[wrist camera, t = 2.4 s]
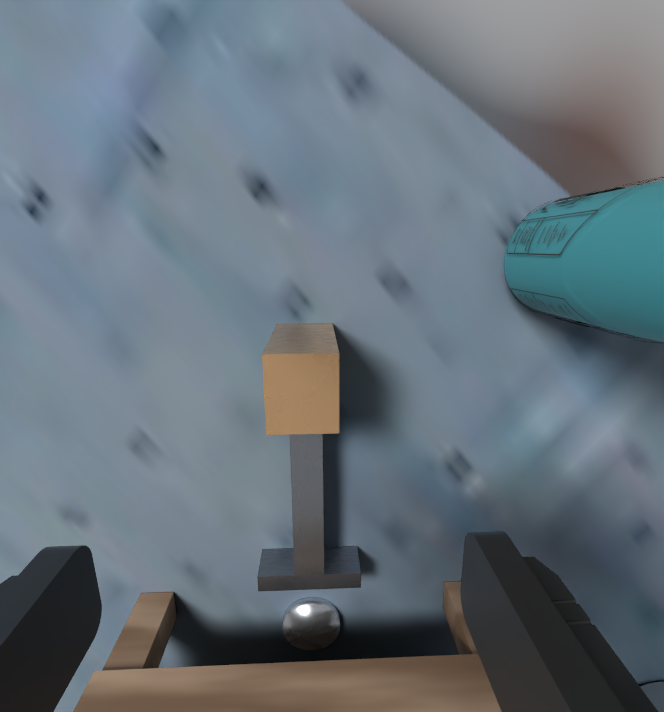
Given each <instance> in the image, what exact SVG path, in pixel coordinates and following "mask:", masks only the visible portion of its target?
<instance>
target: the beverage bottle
mask: <svg viewBox="0 0 664 712" xmlns="http://www.w3.org/2000/svg"><path fill="white" fill-rule="evenodd" d="M663 178H664V177H663ZM654 180H655V179H654ZM648 182H649V181H648ZM581 196H584V197H581ZM585 196H586V197H585ZM576 197H579V198H576ZM572 198H576V199H572ZM567 199H568V200H567ZM569 199H571V200H569ZM562 200H566V201H562ZM558 201H562V202H558ZM555 202H557V203H553V202H552V203H553V204H549V205H547V204H546V205H547V206H544V205H543V206H544V207H541V208H540V209H538V210H536V211H534V210H533V211H534V212H533V213H532V214H530V213H531V212H530V213H529V214H530V215H529V214H528V215H529V216H528V215H527V216H528V217H527V216H526V217H527V218H526V217H525V218H526V219H525V218H524V219H525V220H524V219H523V220H522V223H521V224H519V225H518V227H517V228H516V230H515V231H514V233H513V234H512V236H511V238H510V240H509V242H508V245H507V248H506V251H505V257H504V272H505V277H506V280H507V283H508V285H509V287H510V289H511V292H512V291H513V292H512V293H514V294H515V295H516V296H517V298H518V299H519V300H520V301H522V302H523V303H524V304H525V306H526V305H527V306H528V307H530V308H531V309H532V308H533V309H535V310H538V311H540V312H541V311H542V312H545V313H549V314H550V315H551V314H553V315H557V316H560V317H564V318H568V319H572V320H575V321H577V322H572V321H571V323H574V324H578V325H581V324H579V323H582V322H583V323H584V324H586V323H587V324H590V325H594V326H598V327H602V328H605V329H609V330H611V331H612V330H613V331H617V332H620V335H621V333H624V335H626V334H627V335H632V336H636V338H637V337H638V338H639V337H640V338H645V339H651V340H655V341H659V342H663V343H664V180H662V181H657V182H653V183H648V184H641V185H638V186H634V187H629V188H621V187H618V188H617V187H616V188H614V189H610V190H605V191H600V192H596V193H587V194H583V195H578V196H573V197H571V196H570V197H569V198H567V197H566V198H564V199H563V198H562V199H559V200H557V201H555ZM547 203H548V202H547ZM541 206H542V205H541ZM539 207H540V206H539ZM514 294H513V295H514ZM515 298H516V297H515ZM517 298H516V299H517ZM523 306H524V305H523ZM529 310H530V309H529ZM531 311H532V310H531ZM534 312H535V311H534ZM535 313H536V312H535ZM538 313H539V312H538ZM542 314H543V313H542ZM550 315H549V316H550ZM545 316H546V314H545ZM547 316H548V315H547ZM553 317H554V316H553ZM556 319H560V320H563V321H567V322H570V321H568V320H565V319H563V318H557V317H556ZM581 326H585V327H590V326H587V325H583V324H582V325H581ZM593 328H594V327H593ZM597 329H598V328H596V330H597ZM600 330H601V329H600ZM603 331H604V332H605V331H606V330H603ZM607 331H608V330H607ZM609 333H610V332H609ZM612 334H614V333H612ZM615 334H616V333H615ZM618 334H619V333H618ZM620 335H619V336H620ZM622 335H623V334H622ZM617 336H618V335H617ZM628 338H629V337H628ZM630 338H631V337H630ZM633 338H634V337H633ZM637 341H638V340H637ZM643 342H645V341H643ZM653 343H657V342H653Z"/></svg>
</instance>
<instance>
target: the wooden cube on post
mask: <svg viewBox="0 0 664 712" xmlns="http://www.w3.org/2000/svg"><path fill="white" fill-rule="evenodd" d="M262 362H263V381H264V401H265V420H266V435H289V434H290V456H291V485H292V513H293V541H294V548H281V549H262V554H261V560H260V566H259V571H258V591H279V590H306V589H334V588H361V570H360V563H359V556H358V549H357V546H342V547H324V516H323V434H333V433H339V350H338V345H337V341H336V337H335V332H334V328H333V323H310V324H277V325H276V327H275V329H274V331H273V333H272V335H271V337H270V339H269V341H268V343H267V345H266V347H265V349H264V351H263V353H262Z"/></svg>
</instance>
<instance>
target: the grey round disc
mask: <svg viewBox="0 0 664 712" xmlns="http://www.w3.org/2000/svg"><path fill="white" fill-rule="evenodd" d="M339 632H340V617H339V613H338V610H337V609H336V607H335V606H334V605H333V604H332V603H331V602H329V601H327V600H325V599H322V598H318V597H307V598H302V599H300V600H297V601H295V602H294V603H292V604H291V605H290V606H289V607H288V608H287V610H286V612H285V614H284V618H283V634H284V636H285V638H286V640H287V641H288V642H289V643H290V644H292V645H293V646H295V647H297V648H299V649H303V650H318V649H322V648H324V647H326V646H328V645H330V644H331V643H332V642H333V641H334V640H335V639H336V638H337V636H338V634H339Z"/></svg>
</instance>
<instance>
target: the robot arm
mask: <svg viewBox="0 0 664 712" xmlns="http://www.w3.org/2000/svg"><path fill="white" fill-rule="evenodd" d="M460 596H461V605H462V610H463V615H464V619H465V622H466V625H467V627H468V630H469V632H470V635H471V637H472V640H473V642H474V644H475V647H476V649H477V652H478V654H479V657H480V659H481V662H482V664H483V667H484V669H485V672H486V674H487V677H488V679H489V682H490V684H491V687H492V689H493V692H494V694H495V697H496V699H497V702H498V704H499V706H500V709H501V711H502V712H664V682H655V683H649V684H646V685H643V686H639V685H638V683H637V682H636V681H635V679H634V678H633V677H632V675H631V674H630V673H629V671H628V670H627V669H626V667H625V666H624V665H623V663H622V662H621V660H620V659H619V658H618V656H617V655H616V654H615V652H614V651H613V650H612V648H611V647H610V646H609V644H608V643H607V642H606V640H605V639H604V637H603V636H602V635H601V633H600V632H599V631H598V629H597V628H596V627H595V625H592V624H591V622H590V619H589V617H588V616H587V615H586V613H585V612H584V610H583V609H582V608H581V606H580V605H579V604H576V602H575V598H574V597H573V596H572V594H571V593H570V592H569V590H568V589H567V587H566V586H565V585H564V583H563V582H562V581H561V579H560V578H559V577H558V575H556V574H555V573H554V572H552V571H551V570H550V569H549V568H547V567H546V566H545V565H544V564H542V563H541V562H540V561H539V560H537V559H536V558H535V557H522V556H521V554H520V553H519V551H518V550H517V548H516V547H515V545H514V544H513V542H512V541H511V539H510V538H509V537H508V535H507V534H506V533H505V532H502V531H497V532H470V533H467V535H466V537H465V544H464V555H463V566H462V577H461V589H460ZM101 611H102V605H101V599H100V593H99V588H98V583H97V578H96V573H95V568H94V563H93V557H92V553H91V550H90V549H89V547H87V546H58V547H46V548H44V549H43V550H41V551H40V552H39V553H38V554H37V555H36V556H35V557H34V559H33V560H32V561H31V562H30V563H29V564H28V565H27V566H26V567H25V569H24V570H23V571H22V572H21V573H20V574H19V575H18V576H11V577H10V578H8V579H7V580H5V581H4V582H3V583H1V584H0V712H53V711H54V710H55V708H56V706H57V704H58V702H59V701H60V699H61V697H62V695H63V693H64V692H65V690H66V688H67V686H68V685H69V683H70V681H71V679H72V677H73V676H74V674H75V672H76V670H77V668H78V667H79V665H80V663H81V661H82V660H83V658H84V656H85V654H86V652H87V651H88V649H89V647H90V645H91V643H92V642H93V640H94V638H95V636H96V633H97V630H98V627H99V624H100V619H101Z"/></svg>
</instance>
